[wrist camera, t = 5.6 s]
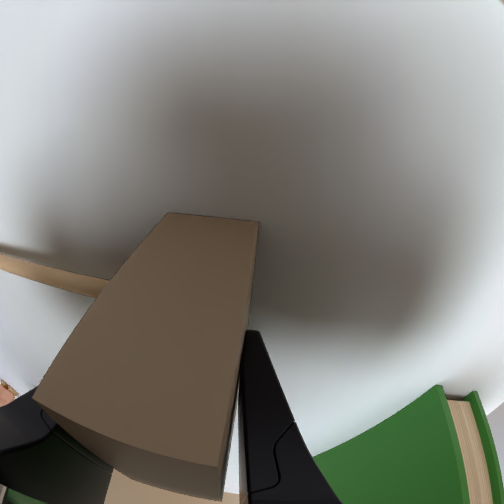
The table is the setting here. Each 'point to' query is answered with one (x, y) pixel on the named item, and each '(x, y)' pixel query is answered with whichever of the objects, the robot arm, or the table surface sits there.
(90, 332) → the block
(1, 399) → the grandmother figurine
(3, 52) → the table surface
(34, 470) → the robot arm
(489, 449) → the hardback book
